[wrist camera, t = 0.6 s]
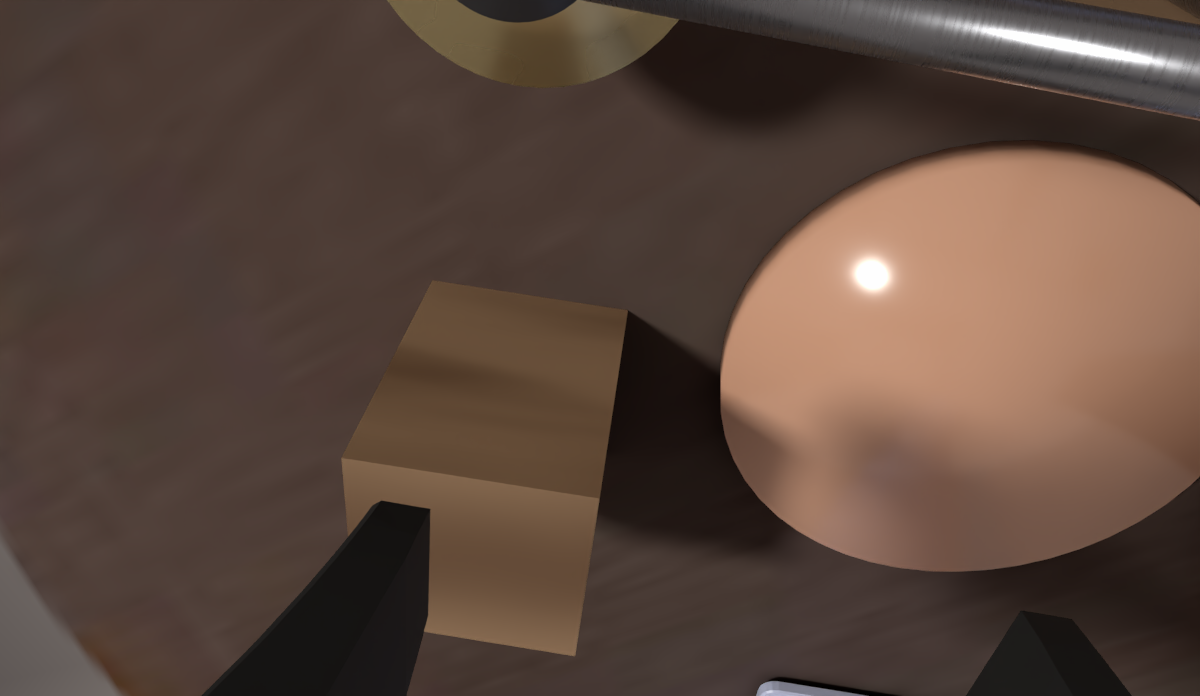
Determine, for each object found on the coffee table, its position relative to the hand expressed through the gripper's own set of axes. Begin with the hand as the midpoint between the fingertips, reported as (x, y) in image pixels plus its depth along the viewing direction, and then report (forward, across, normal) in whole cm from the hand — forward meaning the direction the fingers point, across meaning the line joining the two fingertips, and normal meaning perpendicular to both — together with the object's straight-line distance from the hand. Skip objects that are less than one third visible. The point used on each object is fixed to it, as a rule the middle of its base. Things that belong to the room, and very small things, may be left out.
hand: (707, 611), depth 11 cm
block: (+10, +4, +4) cm, 11 cm away
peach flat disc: (+10, -6, +2) cm, 12 cm away
